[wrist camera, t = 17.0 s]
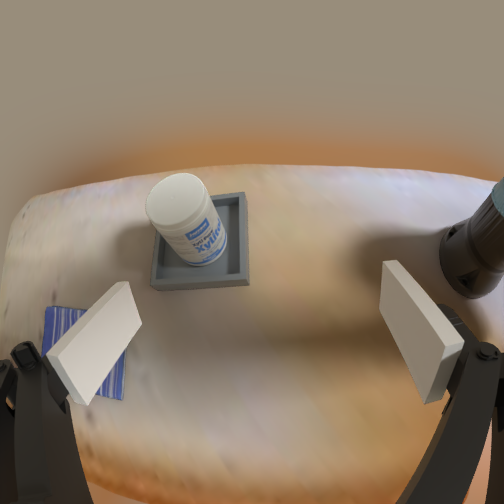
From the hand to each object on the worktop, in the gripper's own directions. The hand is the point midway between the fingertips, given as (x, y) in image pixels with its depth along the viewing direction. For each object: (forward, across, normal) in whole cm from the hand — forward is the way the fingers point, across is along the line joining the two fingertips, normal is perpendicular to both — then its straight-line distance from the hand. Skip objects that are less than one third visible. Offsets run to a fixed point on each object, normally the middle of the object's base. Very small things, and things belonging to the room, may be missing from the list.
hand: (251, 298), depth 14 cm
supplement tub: (+37, -13, -9) cm, 40 cm away
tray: (+37, -14, -9) cm, 41 cm away
